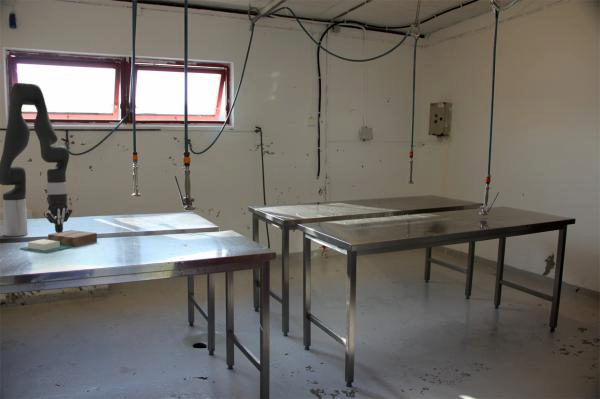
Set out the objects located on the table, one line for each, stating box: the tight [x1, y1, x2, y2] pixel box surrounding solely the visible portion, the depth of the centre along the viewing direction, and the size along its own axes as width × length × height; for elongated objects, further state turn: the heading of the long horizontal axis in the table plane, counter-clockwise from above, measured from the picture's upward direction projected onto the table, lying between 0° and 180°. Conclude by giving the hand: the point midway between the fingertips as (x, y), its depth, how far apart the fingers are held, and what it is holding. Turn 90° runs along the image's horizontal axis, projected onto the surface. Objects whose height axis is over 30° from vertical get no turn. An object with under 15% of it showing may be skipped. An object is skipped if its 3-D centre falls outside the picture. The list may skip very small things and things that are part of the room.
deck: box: [47, 229, 98, 248], centre depth 205 cm, size 16×12×4 cm
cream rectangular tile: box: [27, 238, 60, 250], centre depth 192 cm, size 10×7×2 cm
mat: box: [19, 245, 74, 254], centre depth 193 cm, size 16×12×1 cm
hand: (59, 232), depth 200 cm, fingers closed
